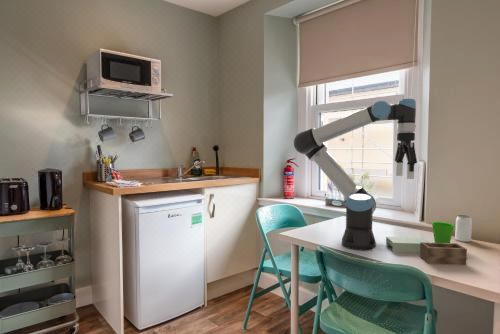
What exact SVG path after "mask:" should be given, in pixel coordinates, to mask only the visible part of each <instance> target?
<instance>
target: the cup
mask: <svg viewBox="0 0 500 334" xmlns="http://www.w3.org/2000/svg"><path fill="white" fill-rule="evenodd" d="M431 225H432V231H433V232H432V233H433V239H434V243H451V241H452V236H453V231H454V228H456V224H455V225H454V224H453V223H449V222H445V221H433V222H431Z"/></svg>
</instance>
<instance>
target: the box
mask: <svg viewBox="0 0 500 334" xmlns="http://www.w3.org/2000/svg"><path fill="white" fill-rule="evenodd" d="M467 252H468V248H466V247H464V246H462V245H460V244H458V243H456V242H455V243H454V242H450V243H435V242H430V243H428V242H420V253H419V258H420V259H422V260H423V261H424V262H425V263H426V264H429V265H456V266H457V265H458V266H467Z"/></svg>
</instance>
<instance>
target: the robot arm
mask: <svg viewBox="0 0 500 334" xmlns="http://www.w3.org/2000/svg"><path fill="white" fill-rule="evenodd" d="M416 103H417V101H416V99H413V98H404V99H403V98H401V99H399V100H398V101H397V103H394V104H389V102H388V101H385V100H378V101H376V102H374V103H373V104H372V105H370V106H367V107H365V108H362V109H360V110H357V111H355V112H352V113H350V114H348V115H345V116H343V117H340V118H338V119H336V120H334V121H331V122H330V123H326V124H324V125H322V126H319V127H316V128H315V127H312V128H310V129H306V130H303V131H301V132H298V133H297V134H296V136H295V137H294V139H293V147H294V150H296V152H298V153H299V154H303V155H305V156H306V157H307V159H308V160H309V161H311V162H315V164H316V165H317V166H318V167H319V168H320V169H321V172H323V173H324V175H326V177H327V178H328V179H329V181H330V182H331V183H332V184H333V185H334V186H335V188H336V189H337V190H338V191H339V192H340V193H341V195H342V196H343V201H344V203H345V205H346V207H345V212H346V213H345V229H344V232H343V235H342V238H341V245H342V246H343V247H345V248H347V249H352V250H355V251H371V250H373V249H374V248H376V245H377V241H376V238H375V235H374V231H373V214H374V212H375V211H376V208H377V202H376V199H375V196H373V195H372V194H370V193H368V191H366V190H365V188H364V187H363V186H359V185H357V184H356V183H355V182H354V180H353V179H352V178H351V177H350V175H348V173H347V172H346V171H345V170H344V168H342V166H341V165H340V164H339V163H338V162H337V160H336V159H335V158H334V157H333V156H332V155H331V154H330V153H329V151H328V145H327V144H326V143H325V142H328V141H331V140H333V139H335V138H338V137H341V136H343V135H345V134H348V133H350V132H353V131H355V130H358V129H361V128H363V127H365V126H368V125H370V124H373V123H376V122H382V121H383V122H384V121H397V125H396V127H397V128H396V132H397V133H396V141H397V146H396V147H397V148H396V153H395V157H394V162H396V167H395V168H396V170H395V173H396V174H395V175H396V177H402V176H403V173H404V172H403V171H404V170H403V169H404V167H403V166H404V157H405V156H406V160H407V162H406V166H407V168H406V169H407V170H406V179H407V180H414V179H415V165H416V164H417V163H418V161H417V154H416V148H415V142H414V141H416V133H415V131H416V127H417V125H416V115H417V114H416V113H417V106H416V105H417V104H416Z"/></svg>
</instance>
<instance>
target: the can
mask: <svg viewBox="0 0 500 334" xmlns="http://www.w3.org/2000/svg"><path fill="white" fill-rule="evenodd" d="M472 227H473V220H472V216H471V215H466V214H458V215H457V217H456V219H455V230H454V232H455V235H454V239H455V240H456V241H458V242H463V243H469V242H471V241H472V230H473V229H472Z"/></svg>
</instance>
